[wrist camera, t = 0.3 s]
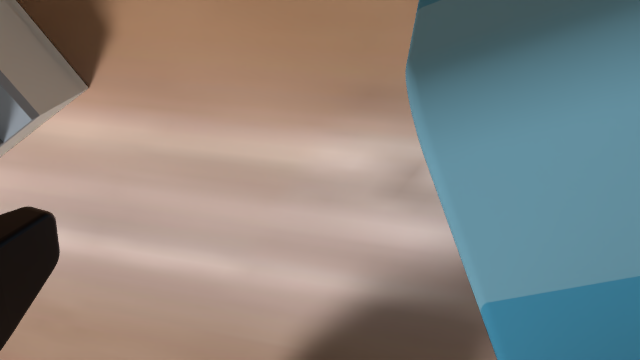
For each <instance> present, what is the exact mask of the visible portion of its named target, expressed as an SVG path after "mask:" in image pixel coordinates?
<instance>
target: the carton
mask: <svg viewBox="0 0 640 360" xmlns="http://www.w3.org/2000/svg"><path fill="white" fill-rule="evenodd" d="M0 70H1V72H2V73H3V74H4V75H5V76H6V77H7V78H8V80H9V81H10V82H11V83H12V84H13V85H14V86H15V88H16V89H17V90H18V91H19V92H20V93H21V94H22V96H23V97H24V98H25V99H26V100H27V101H28V102H29V103H30V105H31V106H32V107H33V108H34V109H35V110H36V111H37V113H38V114H39V115H40V116H39V117H37V118H36V119H35V120H34V121H32V122H31V123H30V124H29V125H27V126H26V127H25V128H24V129H22V130H21V131H20V132H19V133H17V134H16V135H15V136H14V137H12V138H11V139H10V140H9V141H7V142H6V143H5V144H4V145H2V146H1V147H0V157H1V156H3V155H4V154H5V153H6V152H8V151H9V150H10V149H11V148H13V147H14V146H15V145H17V144H18V143H19V142H20V141H22V140H23V139H24V138H26V137H27V136H28V135H29V134H31V133H32V132H33V131H34V130H36V129H37V128H38V127H40V126H41V125H42V124H43V123H45V122H46V121H47V120H49V119H50V118H51V117H52V116H54V115H55V114H56V113H57V112H59V111H60V110H61V109H63V108H64V107H65V106H66V105H68V104H69V103H70V102H72V101H73V100H74V99H75V98H77V97H78V96H79V95H80V94H82V93H83V92H84V91H86V90H87V89H88V87H87V85H86V84H85V83H84V82H83V81H82V79H81V78H80V77H79V76H78V74H77V73H76V72H75V71H74V70H73V68H72V67H71V66H70V65H69V64H68V62H67V61H66V60H65V59H64V58H63V56H62V55H61V54H60V53H59V52H58V50H57V49H56V48H55V47H54V46H53V44H52V43H51V42H50V41H49V39H48V38H47V37H46V36H45V35H44V33H43V32H42V31H41V30H40V29H39V27H38V26H37V25H36V24H35V23H34V21H33V20H32V19H31V18H30V17H29V15H28V14H27V13H26V12H25V10H24V9H23V8H22V7H21V6H20V4H19V3H18V2H17V1H16V0H0Z"/></svg>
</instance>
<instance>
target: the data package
mask: <svg viewBox="0 0 640 360" xmlns="http://www.w3.org/2000/svg"><path fill="white" fill-rule="evenodd" d="M406 85H407V92H408V98H409V103H410V108H411V112H412V116H413V120H414V124H415V128H416V131H417V135H418V138H419V142H420V145H421V148H422V151H423V154H424V157H425V160H426V163H427V166H428V168H429V171H430V174H431V177H432V179H433V182H434V185H435V188H436V191H437V193H438V196H439V199H440V202H441V204H442V207H443V210H444V213H445V216H446V218H447V221H448V224H449V227H450V229H451V232H452V235H453V238H454V241H455V243H456V246H457V249H458V252H459V254H460V257H461V260H462V263H463V266H464V268H465V271H466V274H467V277H468V279H469V282H470V285H471V288H472V291H473V293H474V296H475V299H476V302H477V305H478V307H479V310H480V313H481V316H482V318H483V321H484V324H485V327H486V330H487V332H488V335H489V338H490V341H491V343H492V346H493V349H494V352H495V355H496V357H497V360H640V0H419V3H418V8H417V13H416V18H415V23H414V28H413V34H412V39H411V44H410V49H409V54H408V59H407V64H406Z"/></svg>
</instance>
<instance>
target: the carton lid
mask: <svg viewBox="0 0 640 360" xmlns="http://www.w3.org/2000/svg"><path fill="white" fill-rule="evenodd" d="M39 116H40V115H39V114H38V113H37V111H36V110H35V109H34V108H33V107H32V106H31V105H30V103H29V102H28V101H27V100H26V99H25V98H24V97H23V96H22V94H21V93H20V92H19V91H18V90H17V89H16V88H15V86H14V85H13V84H12V83H11V82H10V81H9V80H8V78H7V77H6V76H5V75H4V74H3V73H2V72H1V70H0V147H1V146H2V145H4V144H5V143H6V142H7V141H9V140H10V139H11V138H12V137H14V136H15V135H16V134H17V133H19V132H20V131H21V130H22V129H24V128H25V127H26V126H27V125H29V124H30V123H31V122H32V121H34V120H35V119H36V118H37V117H39Z"/></svg>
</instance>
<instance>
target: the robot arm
mask: <svg viewBox="0 0 640 360" xmlns="http://www.w3.org/2000/svg"><path fill="white" fill-rule="evenodd" d="M59 253H60V250H59V242H58V234H57V226H56V220H55V217H54V215H53V214H52V213H50V212H48V211H45V210H41V209H37V208H34V207H23V208H19V209H16V210H13V211H10V212H7V213H4V214H1V215H0V350H1V349H2V348H3V346H4V345H5V344H6V342H7V341H8V339H9V338H10V336H11V335H12V333H13V332H14V330H15V329H16V327H17V326H18V324H19V322H20V321H21V319H22V318H23V316H24V315H25V313H26V312H27V310H28V308H29V307H30V305H31V304H32V302H33V301H34V299H35V298H36V296H37V294H38V293H39V291H40V290H41V288H42V287H43V285H44V284H45V282H46V280H47V279H48V277H49V276H50V274H51V273H52V271H53V270H54V268H55V266H56V264H57V262H58V259H59Z"/></svg>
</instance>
